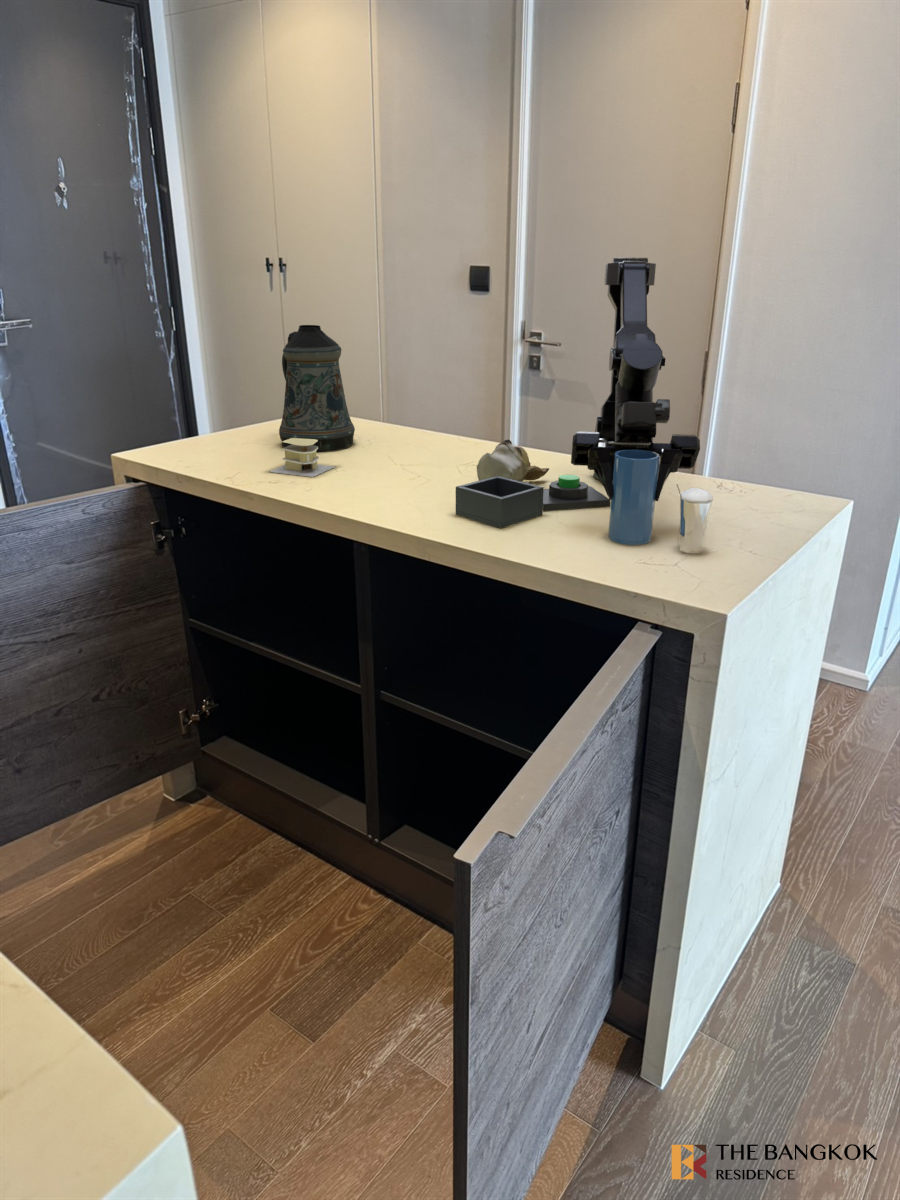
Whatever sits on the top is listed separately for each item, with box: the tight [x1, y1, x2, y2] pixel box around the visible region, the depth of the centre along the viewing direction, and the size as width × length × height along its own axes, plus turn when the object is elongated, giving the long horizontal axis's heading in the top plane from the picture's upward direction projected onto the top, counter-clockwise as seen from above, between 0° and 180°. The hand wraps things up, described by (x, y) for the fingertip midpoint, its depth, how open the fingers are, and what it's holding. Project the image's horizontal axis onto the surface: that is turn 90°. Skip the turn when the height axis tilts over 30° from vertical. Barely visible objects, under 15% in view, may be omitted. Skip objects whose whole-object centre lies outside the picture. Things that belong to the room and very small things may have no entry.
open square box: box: [455, 476, 545, 529], centre depth 141 cm, size 10×10×5 cm
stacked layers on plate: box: [269, 438, 337, 478], centre depth 169 cm, size 10×9×6 cm
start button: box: [558, 474, 581, 488], centre depth 149 cm, size 4×4×2 cm
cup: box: [608, 449, 660, 546], centre depth 129 cm, size 6×6×13 cm
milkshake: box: [676, 483, 714, 555], centre depth 125 cm, size 5×5×10 cm
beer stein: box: [278, 324, 356, 453], centre depth 187 cm, size 16×19×25 cm
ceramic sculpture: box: [476, 439, 550, 482], centre depth 158 cm, size 11×9×15 cm
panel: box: [542, 479, 611, 512], centre depth 149 cm, size 12×9×3 cm
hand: (633, 499), depth 128 cm, fingers closed on cup, 6 cm apart
